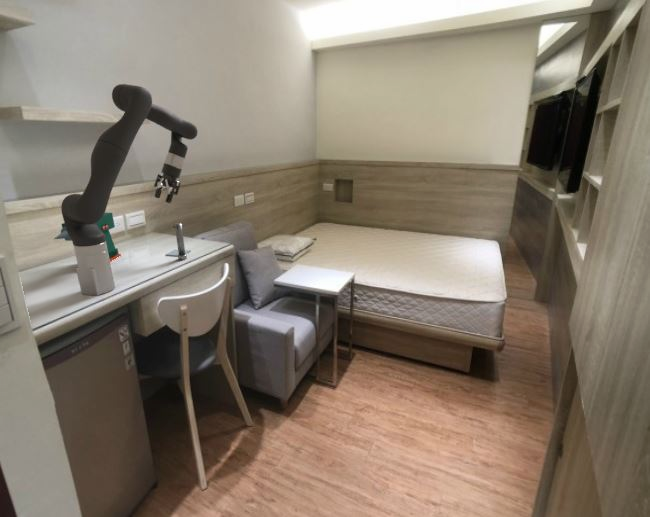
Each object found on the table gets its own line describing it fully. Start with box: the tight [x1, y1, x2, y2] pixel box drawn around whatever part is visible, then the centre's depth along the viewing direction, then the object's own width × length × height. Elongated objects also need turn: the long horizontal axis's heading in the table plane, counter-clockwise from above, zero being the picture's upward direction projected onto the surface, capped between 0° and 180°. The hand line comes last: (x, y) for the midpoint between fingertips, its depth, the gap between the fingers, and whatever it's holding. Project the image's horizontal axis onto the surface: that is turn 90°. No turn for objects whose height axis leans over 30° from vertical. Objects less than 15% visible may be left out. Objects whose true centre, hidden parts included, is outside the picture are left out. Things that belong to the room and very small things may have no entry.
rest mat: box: [164, 249, 192, 257], centre depth 161 cm, size 8×8×1 cm
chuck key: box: [172, 221, 188, 261], centre depth 151 cm, size 7×4×16 cm, turn 172°
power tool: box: [53, 212, 122, 263], centre depth 139 cm, size 32×7×20 cm, turn 0°
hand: (162, 200), depth 155 cm, fingers open, 8 cm apart
